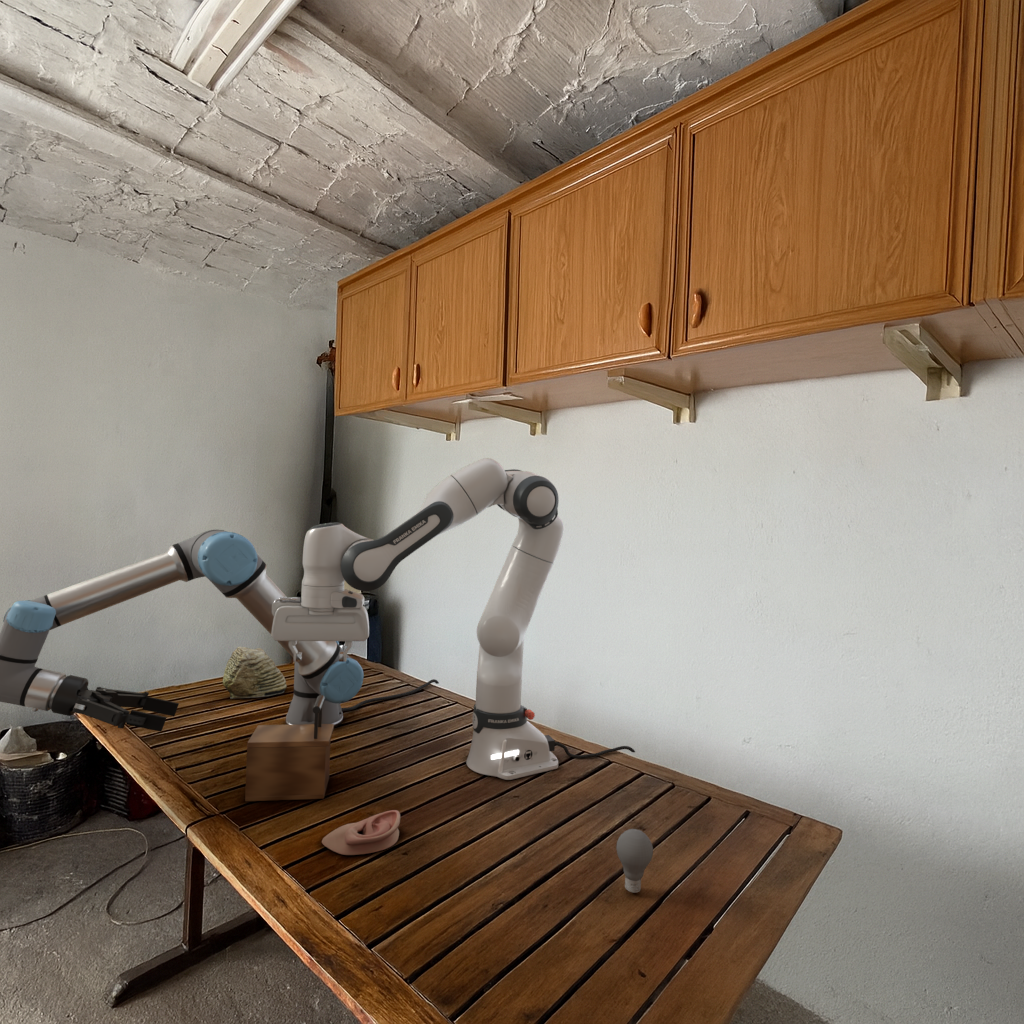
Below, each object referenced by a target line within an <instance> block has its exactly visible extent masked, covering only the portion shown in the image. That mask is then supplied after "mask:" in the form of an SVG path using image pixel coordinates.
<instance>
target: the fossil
mask: <svg viewBox="0 0 1024 1024" xmlns="http://www.w3.org/2000/svg"><path fill="white" fill-rule="evenodd" d="M222 676H223V677H222V685H223V687H224V688H225V690H226V691H228V693H229V698H230V699H250V698H264V697H271V696H275V695H281V694H284V693H285V691H286V689H287V687H288V686H287V680H286V678H285V676H284V674H283V673H282V672H281V669H279V668H278V667H277V665H276V663H275V662H274V660H273V659H272V658H271V657H270V656H269V655H268V654H267V653H266V652H265V650H264V649H263V648H260V647H258V648H251V647H247V646H246V647H245V646H238V647H237V648H236V649H235V650H233V651H232V653H231V656H230V657H229V659H228V660H227V663H226V666H225V668H224V671H223V675H222Z"/></svg>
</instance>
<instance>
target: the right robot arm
mask: <svg viewBox="0 0 1024 1024" xmlns="http://www.w3.org/2000/svg"><path fill="white" fill-rule="evenodd" d="M494 506H498V508H500V509H501V510H503V511H505V512H506V513H508V514H509V515H511V516H513V517H514V518H517V520H518V529H517V534H516V536H515V537H514V541H513V542H512V544H511V547H510V549H509V551H508V553H507V556H506V558H505V560H504V562H503V565H502V567H501V569H500V572H499V575H498V577H497V578H496V582H495V583H494V586H493V588H492V591H491V593H490V595H489V598H488V599H487V602H486V605H485V606H484V609H483V612H482V614H481V616H480V619H479V621H478V623H477V626H476V639H477V642H478V643H479V646H478V647H479V648H478V658H477V669H476V680H475V681H476V684H475V685H476V686H475V703H474V705H473V710H472V719H471V720H472V721H471V722H472V723H471V724H472V729H473V731H472V737H471V743H470V748H469V751H468V755H467V758H466V760H465V763H466V764H465V765H466V766H467V767H468V768H469V769H470V770H471V771H473V772H474V773H478V774H480V775H485V776H491V777H495V778H496V777H497V778H499V779H502V780H506V781H511V780H515V779H520V778H524V777H528V776H532V775H537V774H540V773H545V772H549V771H553V770H557V769H558V768H559V759H558V758H557V756H556V755H555V754H554V753H553V752H555V748H556V746H557V747H560V748H562V749H563V750H564V753H565V755H567V757H570V758H572V759H588V758H595V757H600V756H603V755H605V754H609V753H614V752H617V751H623V750H628V751H629V752H631V753H636V750H635V749H634V748H633V747H631V746H628V745H620V746H617V747H614V748H608V749H605V750H601V751H599V752H595V753H587V754H574V753H571V752H570V751H569V749H568V747H567V746H566V745H565V744H563V743H561V742H558V741H556V740H555V739H554V738H553V737H551V735H549V734H544V733H543V732H542V731H541V730H539V728H537V727H536V726H534V724H532V723H531V722H530V720H531V721H532V720H534V718H535V716H536V715H535V712H534V711H532V710H531V709H528V708H527V707H525V706H524V705H522V685H523V665H524V646H525V645H524V644H525V642H524V641H525V635H526V633H527V630H528V628H529V625H530V622H531V620H532V618H533V615H534V612H535V610H536V608H537V605H538V602H539V599H540V597H541V595H542V592H543V589H544V587H545V585H546V582H547V580H548V578H549V576H550V573H551V571H552V569H553V566H554V563H555V562H556V559H557V556H558V554H559V551H560V547H561V544H562V540H563V536H564V532H565V524H564V521H563V520H562V519H561V517H560V516H559V515H558V514H559V511H558V509H559V493H558V490H557V488H556V486H555V484H553V482H551V481H550V480H549V479H548V478H546V477H544V476H542V475H540V474H537V473H535V472H532V471H527V470H525V471H524V470H521V469H516V468H515V469H514V468H513V469H512V468H511V469H504V467H503V466H502V465H501V464H500V463H499V462H498V461H496V460H495V459H493V458H491V457H490V458H489V457H484V458H480V459H478V460H476V461H473V462H471V463H468V464H467V465H465V466H463V467H461V468H460V469H457V470H456V471H454V472H453V473H451V474H450V475H448V476H446V477H445V478H443V479H442V480H441V481H439V482H438V483H436V485H435V486H433V488H432V489H431V490H430V491H429V492H428V493H427V494H426V496H425V498H424V500H423V502H422V504H421V505H420V507H419V509H418V510H417V511H416V512H415V513H414V514H413V515H412V516H410V517H409V518H408V519H407V520H405V521H403V522H402V523H401V524H399V525H398V526H397V527H395V528H393V529H392V530H391V531H389V532H388V533H386V534H385V535H383V536H381V537H379V538H376V539H372V538H369V537H366V536H364V535H361V534H359V533H357V532H355V531H353V530H351V529H350V528H348V527H346V526H345V525H344V524H343V523H342V522H337V521H336V522H327V523H320V524H316V525H313V526H311V527H310V528H309V529H308V530H307V531H306V533H305V537H304V541H303V549H302V567H303V577H302V579H301V593H300V594H301V596H289V597H288V596H286V597H280V598H279V599H277V600H275V601H274V602H273V604H272V615H273V616H274V620H273V625H272V633H271V634H270V635H271V638H272V640H273V641H275V642H278V641H289V648H290V649H291V651H292V653H293V654H294V658H293V662H294V663H295V662H301V660H302V657H301V656H302V652H298V650H297V649H296V647H295V645H296V644H297V641H338V642H344V646H345V649H344V652H340V653H339V657H340V658H339V662H346V659H347V655H348V653H349V651H350V649H351V648H352V646H353V642H365V641H367V640H368V638H369V637H370V621H369V620H370V619H369V614H368V610H367V608H366V607H365V606H364V605H365V597H364V595H363V594H362V593H359V592H355V591H353V590H349V589H347V588H345V582H346V584H347V585H348V586H349V587H351V588H353V589H354V590H357V591H360V592H371V591H376V590H377V589H379V588H381V587H382V586H384V585H385V584H386V583H387V582H388V581H389V578H390V577H391V575H392V574H393V572H394V571H395V570H396V567H397V566H398V565H399V564H400V563H401V562H402V561H404V560H405V559H406V558H408V557H409V556H411V555H412V554H413V553H414V552H416V551H418V549H420V548H421V547H423V546H424V545H426V544H427V543H428V542H430V541H432V540H433V539H434V538H436V537H438V536H441V535H443V534H446V533H447V532H449V531H451V530H453V529H456V528H458V527H460V526H462V525H464V524H466V523H468V522H470V521H471V520H472V519H474V518H476V517H477V516H479V515H480V514H481V513H482V512H484V511H485V510H486V509H488V508H491V507H494ZM277 601H279V602H277Z"/></svg>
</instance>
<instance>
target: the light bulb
mask: <svg viewBox="0 0 1024 1024" xmlns="http://www.w3.org/2000/svg"><path fill="white" fill-rule="evenodd" d="M615 849H616V854H617V857H618V859H619V861H620V863H621V865H622V867H623V873H624V874H623V875H624V876H625V878H624V888H625V890H627V891H628V892H630V893H634V894H635V893H639V892H640V891H641V889H642V887H641V886H642V879H643V877H644V875H645V871H646V868H647V867H648V866H649V864H650V863H651V861H652V859H653V855H654V847H653V843H652V841H651V838H649V836H648V835H647V834H646V833H645V832H643V831H642V830H641V829H636V828H629V829H627V830H625V831H623V832H622V833H621V834H620V835H619V837H618V839H617V841H616V847H615Z"/></svg>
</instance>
